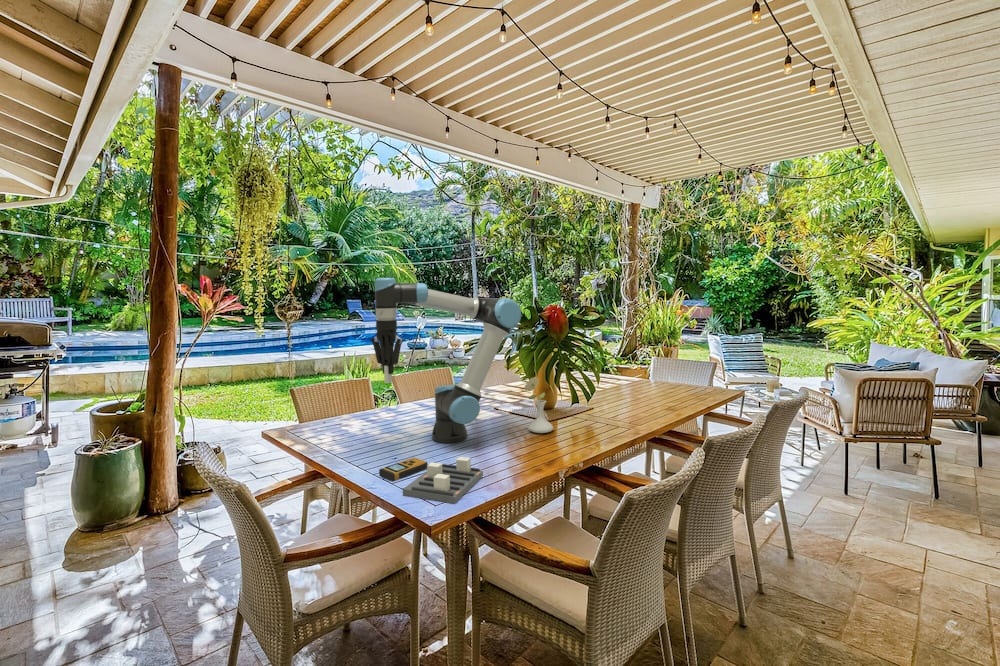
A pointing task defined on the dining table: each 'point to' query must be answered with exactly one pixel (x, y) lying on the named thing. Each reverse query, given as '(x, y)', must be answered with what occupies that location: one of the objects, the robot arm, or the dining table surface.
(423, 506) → the dining table surface
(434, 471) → the tab
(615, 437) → the dining table surface
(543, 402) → the flower in vase
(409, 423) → the dining table surface
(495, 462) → the dining table surface
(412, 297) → the robot arm
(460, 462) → the tab
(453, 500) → the switch bank
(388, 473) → the electronic device
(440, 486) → the tab
